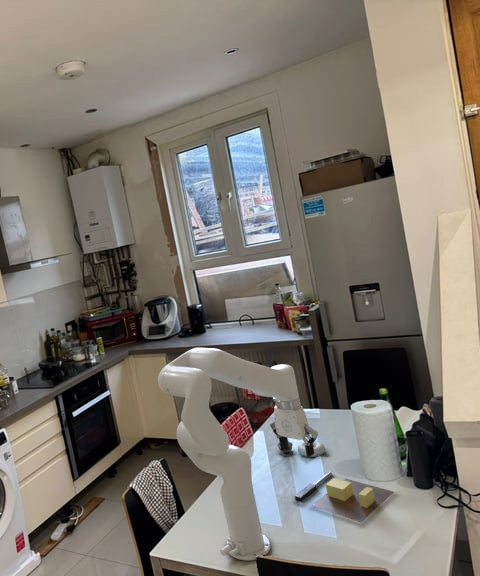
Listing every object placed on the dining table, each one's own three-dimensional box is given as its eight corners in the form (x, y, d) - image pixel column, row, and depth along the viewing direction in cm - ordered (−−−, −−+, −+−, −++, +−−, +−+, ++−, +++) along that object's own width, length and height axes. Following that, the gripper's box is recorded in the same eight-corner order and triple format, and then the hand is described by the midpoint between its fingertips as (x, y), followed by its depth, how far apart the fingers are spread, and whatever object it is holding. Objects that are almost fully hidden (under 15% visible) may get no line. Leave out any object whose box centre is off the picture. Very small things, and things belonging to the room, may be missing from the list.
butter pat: (367, 508, 155) (364, 495, 154) (360, 506, 156) (358, 494, 156) (375, 500, 157) (373, 488, 157) (368, 498, 159) (366, 486, 159)
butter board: (361, 526, 149) (361, 522, 149) (312, 509, 162) (311, 505, 162) (394, 495, 160) (394, 491, 160) (345, 481, 173) (345, 478, 173)
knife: (301, 505, 165) (300, 497, 165) (295, 503, 167) (294, 495, 167) (335, 478, 176) (333, 471, 176) (329, 476, 178) (328, 469, 178)
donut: (323, 459, 191) (327, 447, 199) (322, 451, 190) (325, 438, 199) (296, 458, 196) (300, 446, 205) (294, 450, 196) (299, 438, 204)
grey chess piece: (295, 455, 198) (289, 426, 197) (280, 457, 199) (274, 428, 198) (292, 449, 204) (287, 420, 203) (277, 451, 205) (272, 422, 204)
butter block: (345, 501, 160) (343, 489, 160) (327, 495, 165) (325, 484, 165) (353, 494, 163) (351, 482, 163) (336, 489, 168) (333, 477, 168)
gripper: (259, 403, 171) (268, 450, 173) (304, 410, 157) (314, 462, 158) (272, 395, 175) (281, 442, 177) (318, 402, 161) (328, 453, 162)
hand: (297, 451), depth 167 cm, fingers open, 9 cm apart
